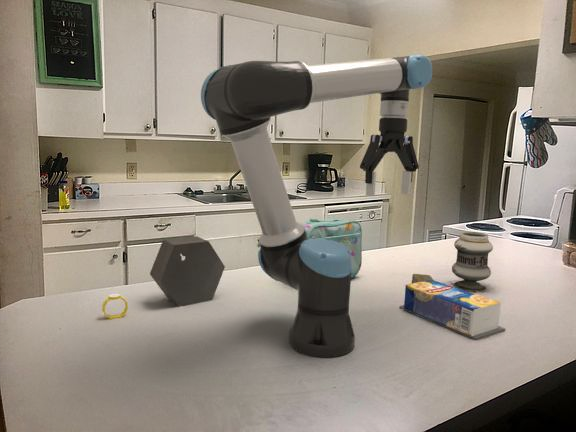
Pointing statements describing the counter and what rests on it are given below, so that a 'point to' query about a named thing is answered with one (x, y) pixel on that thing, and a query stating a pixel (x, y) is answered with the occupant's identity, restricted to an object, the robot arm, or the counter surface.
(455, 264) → the apothecary jar
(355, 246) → the lunch box
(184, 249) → the planter
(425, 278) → the stone block
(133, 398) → the counter surface
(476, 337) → the mat
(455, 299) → the beverage box
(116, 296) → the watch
